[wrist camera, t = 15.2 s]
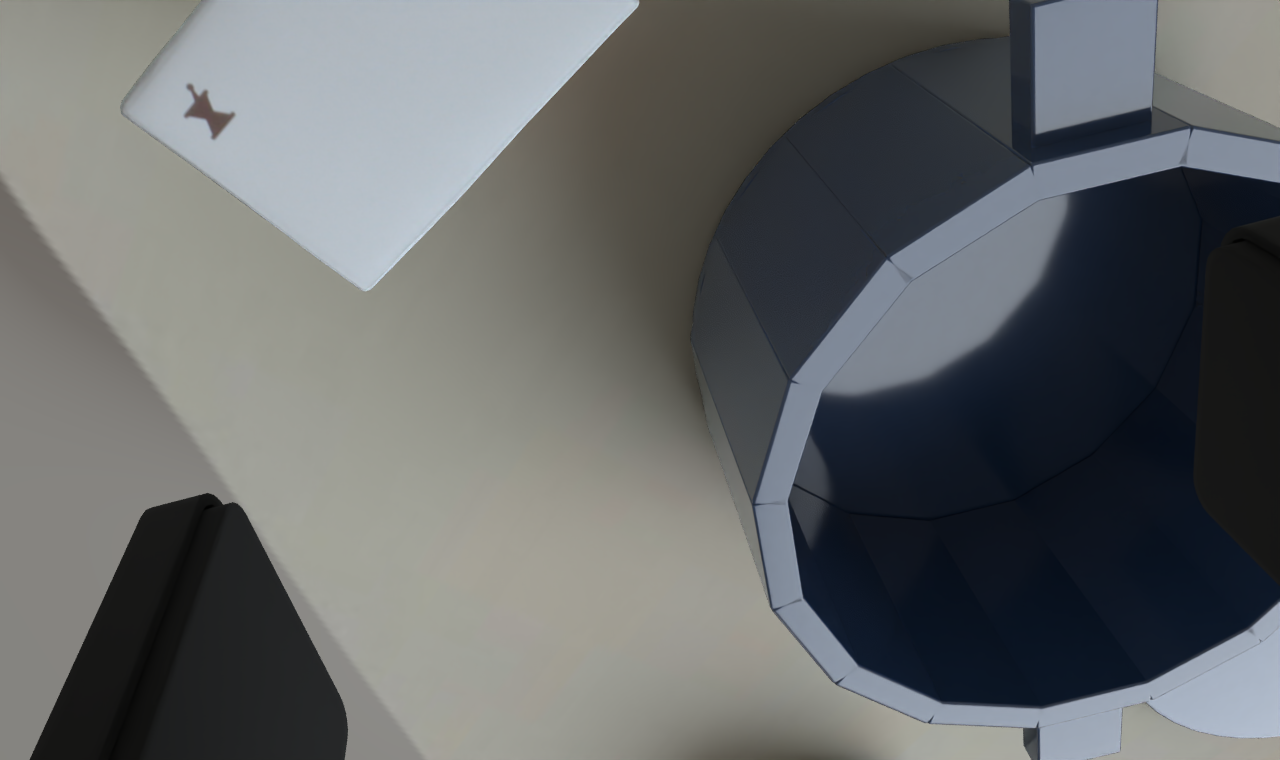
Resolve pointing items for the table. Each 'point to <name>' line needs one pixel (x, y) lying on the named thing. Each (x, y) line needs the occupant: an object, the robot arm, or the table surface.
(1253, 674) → the pot lid
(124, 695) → the robot arm
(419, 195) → the cosmetic box
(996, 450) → the pot
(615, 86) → the table surface
